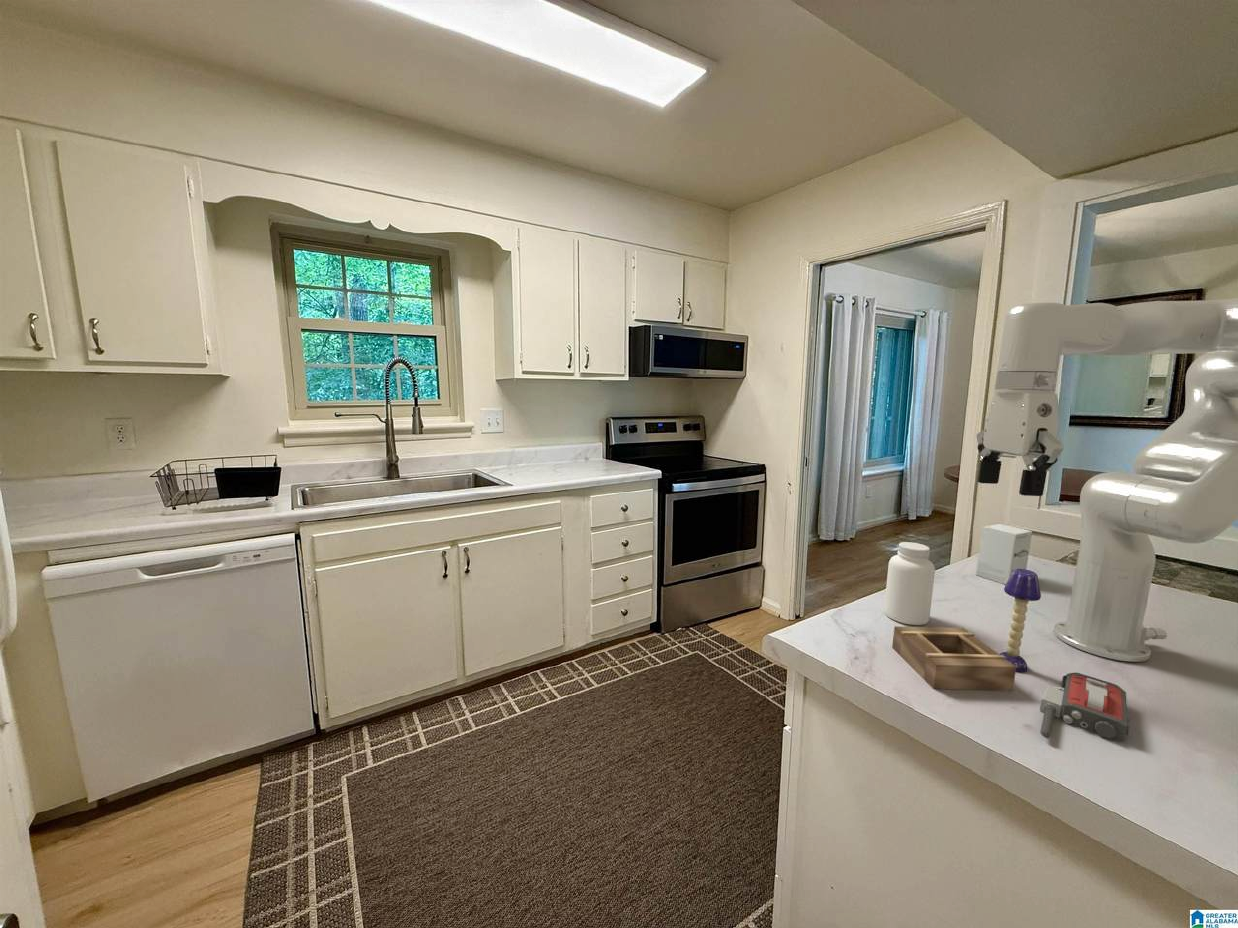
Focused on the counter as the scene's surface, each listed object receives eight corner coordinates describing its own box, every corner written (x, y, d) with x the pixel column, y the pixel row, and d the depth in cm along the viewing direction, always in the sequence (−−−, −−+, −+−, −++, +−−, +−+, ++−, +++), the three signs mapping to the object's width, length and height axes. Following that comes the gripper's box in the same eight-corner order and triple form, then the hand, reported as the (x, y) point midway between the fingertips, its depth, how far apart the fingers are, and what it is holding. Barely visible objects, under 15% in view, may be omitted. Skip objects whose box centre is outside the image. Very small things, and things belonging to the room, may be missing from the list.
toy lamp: (1035, 675, 79) (1051, 577, 76) (1002, 672, 80) (1017, 575, 77) (1018, 659, 84) (1032, 566, 81) (987, 656, 85) (1000, 564, 82)
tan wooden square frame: (960, 648, 87) (963, 626, 86) (1012, 690, 75) (1016, 664, 74) (892, 647, 87) (894, 624, 86) (933, 688, 75) (936, 662, 75)
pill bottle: (925, 612, 101) (934, 542, 98) (931, 630, 93) (941, 555, 91) (882, 605, 104) (889, 537, 102) (884, 621, 97) (892, 548, 94)
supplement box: (1008, 586, 115) (1015, 534, 113) (974, 574, 122) (981, 525, 120) (1025, 581, 118) (1033, 530, 116) (992, 570, 125) (998, 522, 123)
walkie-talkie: (1046, 678, 79) (1032, 740, 65) (1051, 653, 78) (1037, 710, 64) (1124, 703, 73) (1127, 778, 59) (1129, 676, 72) (1134, 745, 58)
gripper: (1098, 385, 70) (1076, 502, 72) (1009, 385, 87) (994, 480, 89) (1043, 383, 70) (1024, 499, 73) (965, 383, 87) (952, 478, 90)
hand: (1007, 488), depth 81 cm, fingers open, 9 cm apart
